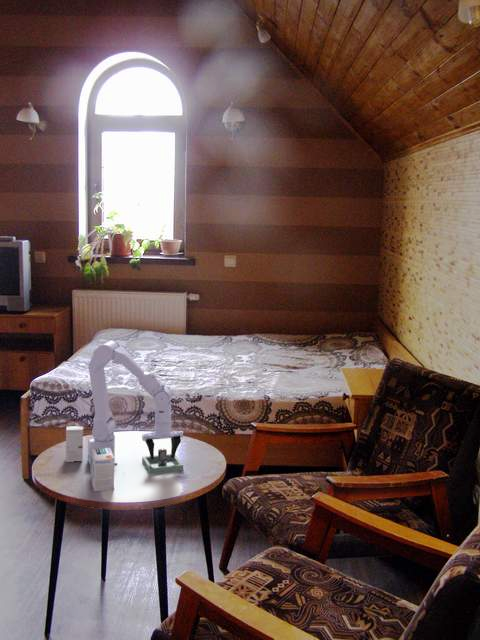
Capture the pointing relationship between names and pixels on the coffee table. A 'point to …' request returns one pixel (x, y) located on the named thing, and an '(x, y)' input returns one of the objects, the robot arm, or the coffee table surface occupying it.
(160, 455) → the cell
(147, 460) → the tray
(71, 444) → the skincare box
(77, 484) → the coffee table surface
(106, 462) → the light bulb box
